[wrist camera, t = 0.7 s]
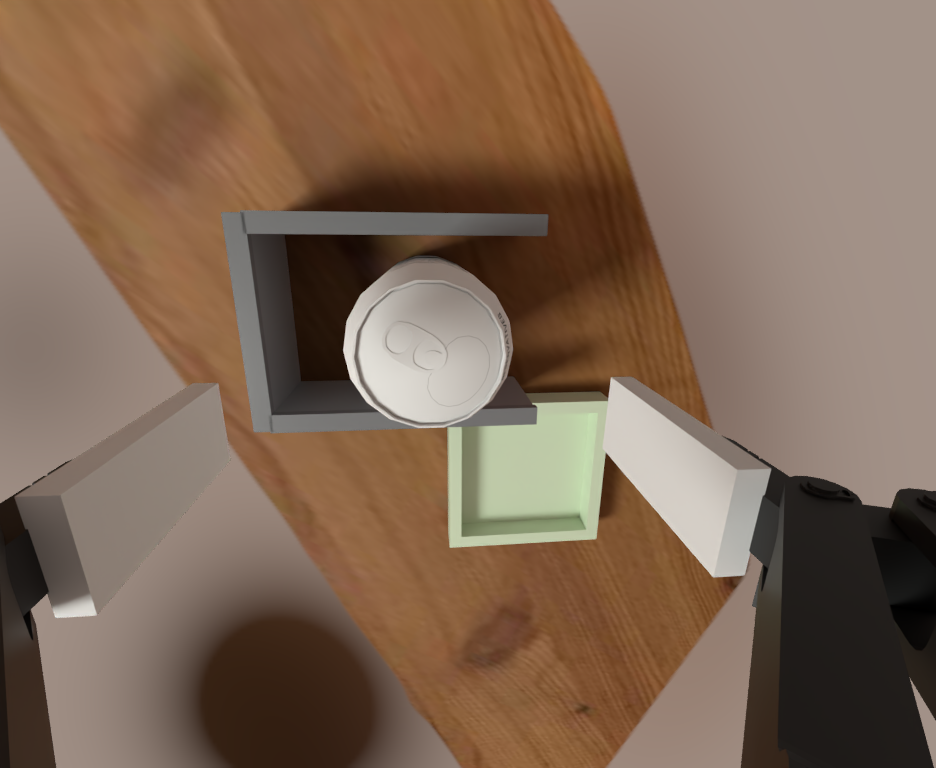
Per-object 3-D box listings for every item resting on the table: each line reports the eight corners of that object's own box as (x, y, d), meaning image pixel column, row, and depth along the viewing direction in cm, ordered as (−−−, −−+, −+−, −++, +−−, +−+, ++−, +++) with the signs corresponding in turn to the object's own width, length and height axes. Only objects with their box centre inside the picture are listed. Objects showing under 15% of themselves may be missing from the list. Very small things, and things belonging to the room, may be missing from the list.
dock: (266, 217, 32) (220, 210, 24) (521, 220, 33) (548, 214, 26) (288, 394, 35) (254, 433, 28) (514, 389, 37) (536, 424, 30)
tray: (447, 395, 37) (448, 405, 35) (599, 391, 38) (611, 400, 36) (448, 530, 41) (449, 547, 38) (586, 522, 42) (596, 538, 40)
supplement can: (499, 290, 35) (552, 323, 20) (445, 379, 36) (460, 467, 22) (406, 233, 33) (393, 226, 19) (354, 330, 34) (307, 391, 20)
